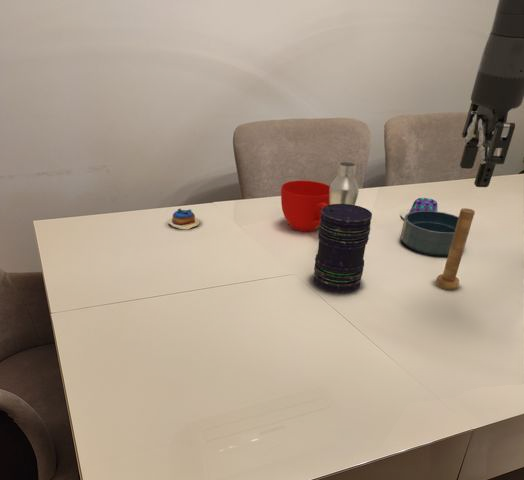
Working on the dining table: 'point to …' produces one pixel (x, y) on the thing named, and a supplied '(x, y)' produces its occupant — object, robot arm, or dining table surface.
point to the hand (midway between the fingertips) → (473, 176)
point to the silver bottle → (344, 185)
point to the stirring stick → (456, 251)
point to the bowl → (429, 232)
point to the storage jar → (341, 247)
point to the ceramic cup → (304, 203)
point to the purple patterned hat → (421, 206)
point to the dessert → (183, 219)
